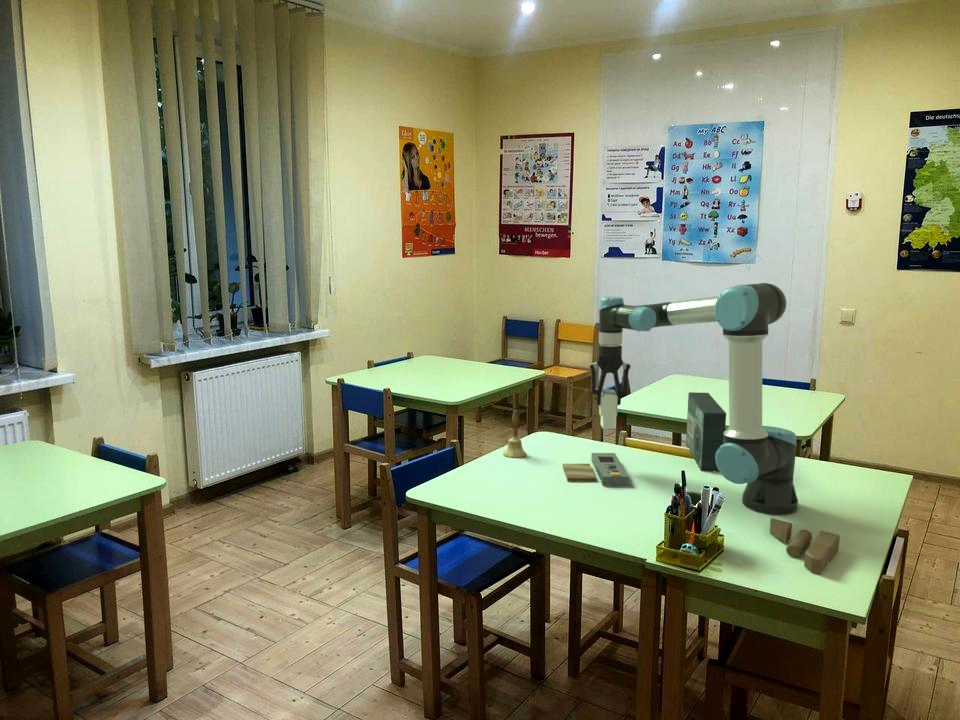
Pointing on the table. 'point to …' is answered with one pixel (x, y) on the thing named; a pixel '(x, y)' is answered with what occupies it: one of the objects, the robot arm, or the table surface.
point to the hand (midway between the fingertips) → (608, 414)
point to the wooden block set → (816, 553)
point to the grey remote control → (609, 469)
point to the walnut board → (579, 472)
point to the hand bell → (514, 440)
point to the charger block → (608, 409)
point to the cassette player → (704, 429)
